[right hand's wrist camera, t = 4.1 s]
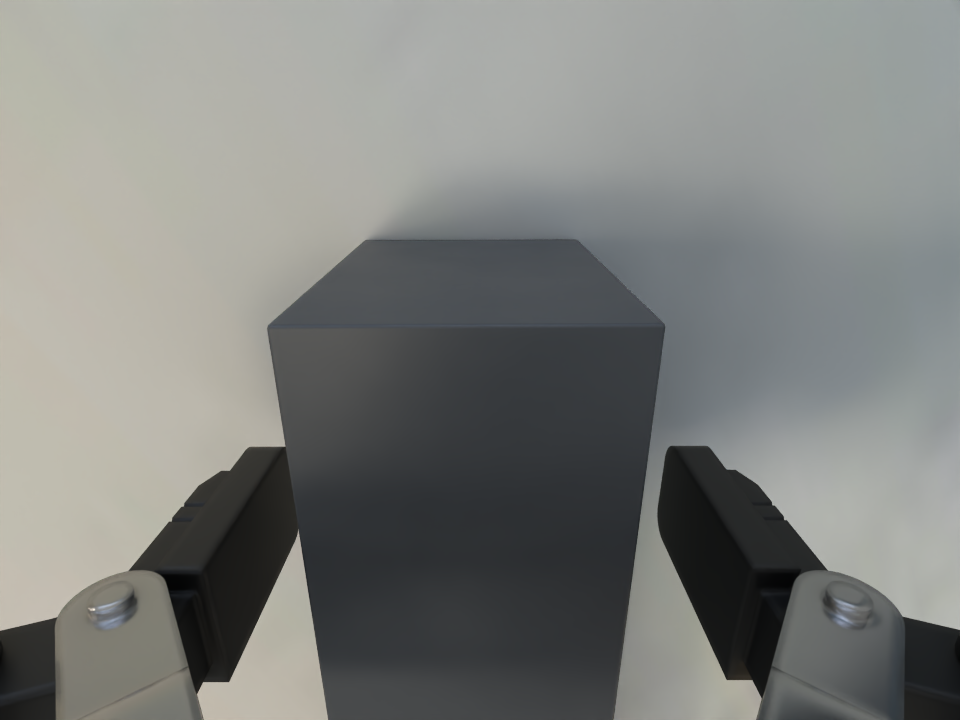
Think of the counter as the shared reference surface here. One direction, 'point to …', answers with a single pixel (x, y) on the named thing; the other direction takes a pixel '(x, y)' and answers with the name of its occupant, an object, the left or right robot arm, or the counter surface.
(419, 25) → the counter surface
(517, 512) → the post
